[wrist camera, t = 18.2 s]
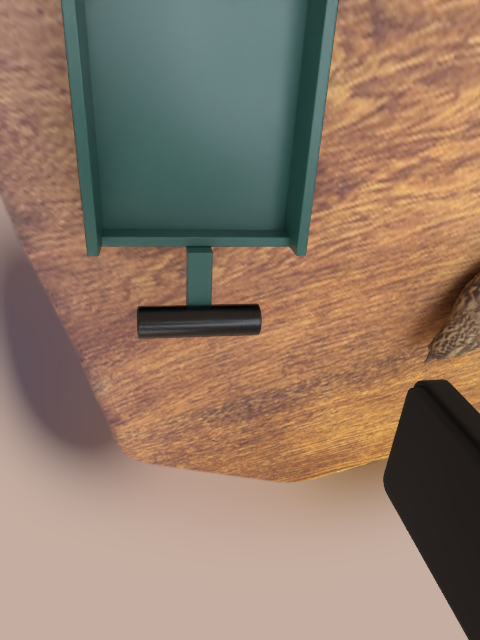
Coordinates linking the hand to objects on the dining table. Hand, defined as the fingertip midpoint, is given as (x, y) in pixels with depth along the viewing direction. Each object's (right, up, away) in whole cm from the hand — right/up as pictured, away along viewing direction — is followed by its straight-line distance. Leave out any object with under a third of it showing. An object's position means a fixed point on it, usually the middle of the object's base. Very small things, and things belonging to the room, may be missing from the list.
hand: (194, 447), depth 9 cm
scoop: (-1, +12, +12) cm, 16 cm away
